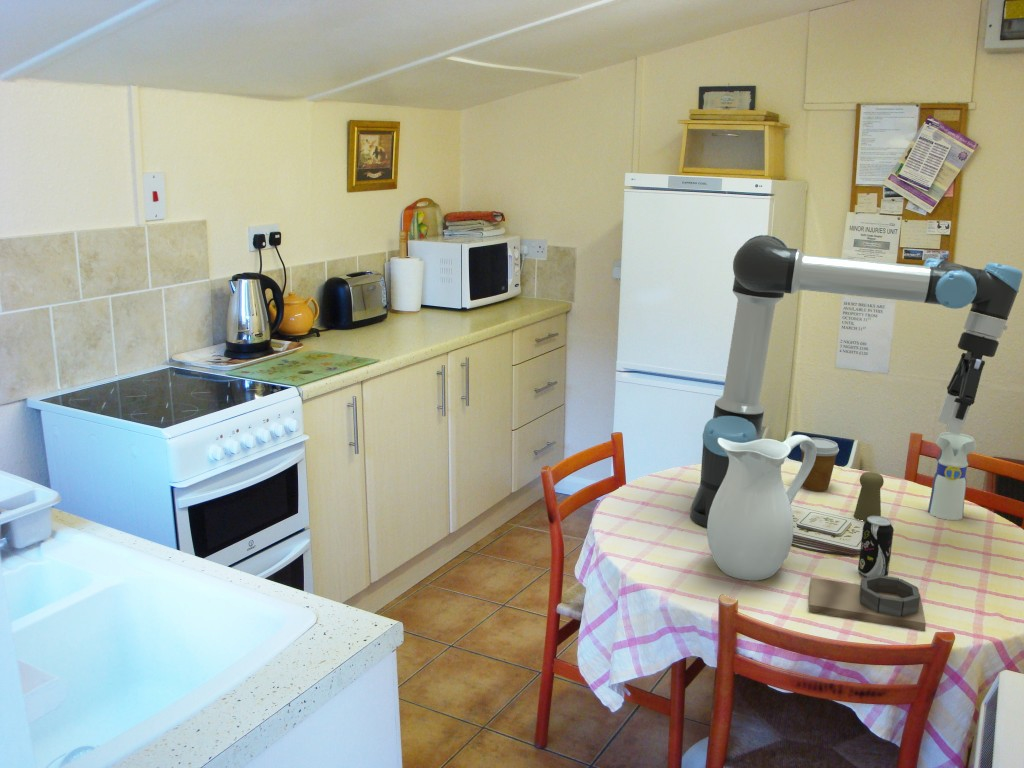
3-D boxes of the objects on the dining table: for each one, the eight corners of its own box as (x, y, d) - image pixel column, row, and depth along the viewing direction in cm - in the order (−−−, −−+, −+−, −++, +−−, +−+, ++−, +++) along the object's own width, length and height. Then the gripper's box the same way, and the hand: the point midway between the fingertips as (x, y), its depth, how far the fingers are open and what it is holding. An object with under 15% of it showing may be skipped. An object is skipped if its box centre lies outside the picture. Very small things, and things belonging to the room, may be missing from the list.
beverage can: (885, 583, 183) (892, 527, 180) (855, 576, 185) (861, 521, 182) (889, 572, 187) (896, 518, 184) (860, 566, 190) (866, 512, 187)
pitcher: (737, 594, 177) (749, 457, 170) (688, 559, 192) (696, 432, 185) (833, 573, 187) (848, 443, 180) (779, 541, 202) (790, 420, 195)
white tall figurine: (968, 523, 213) (983, 420, 207) (928, 517, 216) (941, 416, 210) (964, 510, 221) (978, 411, 215) (925, 505, 224) (939, 407, 217)
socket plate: (808, 611, 171) (810, 589, 170) (810, 584, 182) (812, 563, 181) (924, 630, 165) (927, 607, 163) (919, 600, 176) (921, 579, 174)
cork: (876, 513, 218) (882, 469, 216) (884, 523, 213) (889, 478, 210) (850, 512, 219) (855, 468, 216) (857, 522, 213) (862, 477, 210)
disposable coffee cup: (834, 483, 238) (839, 439, 235) (834, 496, 229) (839, 450, 226) (796, 479, 241) (800, 435, 238) (795, 491, 232) (799, 446, 229)
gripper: (1011, 344, 185) (975, 443, 189) (988, 336, 208) (957, 423, 213) (972, 334, 187) (937, 432, 191) (954, 327, 210) (923, 414, 215)
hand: (948, 428), depth 202 cm, fingers open, 13 cm apart
